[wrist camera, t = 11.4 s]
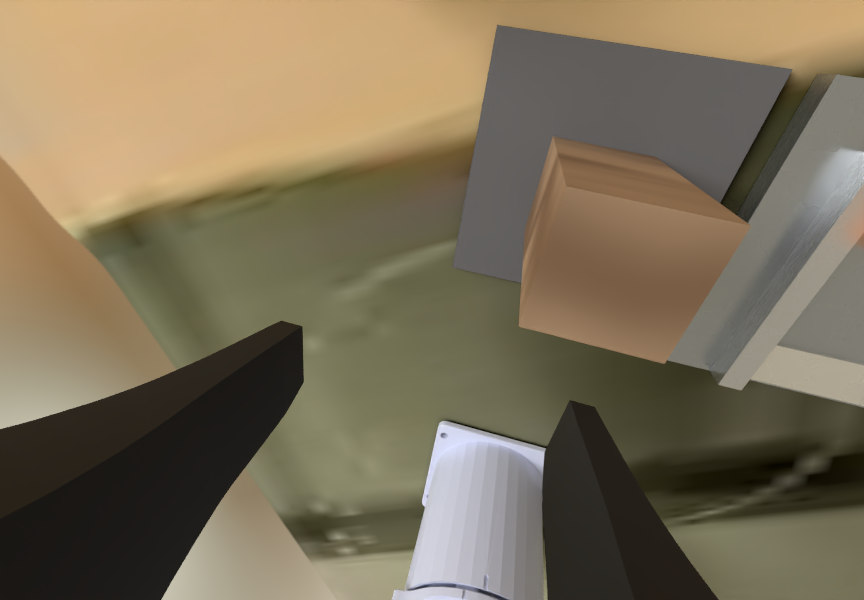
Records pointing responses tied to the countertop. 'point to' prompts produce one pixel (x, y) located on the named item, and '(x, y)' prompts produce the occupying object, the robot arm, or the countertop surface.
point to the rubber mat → (599, 125)
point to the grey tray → (796, 262)
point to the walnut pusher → (620, 250)
